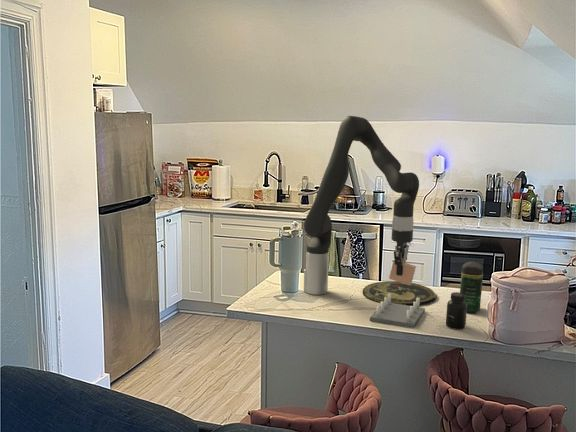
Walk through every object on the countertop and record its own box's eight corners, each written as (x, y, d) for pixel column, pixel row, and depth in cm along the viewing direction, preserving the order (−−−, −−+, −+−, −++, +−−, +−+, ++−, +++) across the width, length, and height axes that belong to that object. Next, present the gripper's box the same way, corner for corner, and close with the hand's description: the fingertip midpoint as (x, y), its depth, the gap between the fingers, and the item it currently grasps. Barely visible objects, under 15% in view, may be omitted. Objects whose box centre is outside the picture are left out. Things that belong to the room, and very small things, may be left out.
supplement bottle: (444, 328, 211) (446, 295, 209) (446, 322, 217) (448, 290, 215) (464, 331, 208) (467, 298, 206) (466, 324, 215) (468, 292, 213)
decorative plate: (376, 277, 267) (444, 287, 254) (376, 281, 268) (443, 291, 254) (351, 295, 241) (425, 307, 228) (351, 300, 242) (425, 312, 228)
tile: (388, 278, 220) (393, 260, 218) (390, 276, 222) (395, 259, 220) (409, 285, 217) (414, 267, 215) (411, 283, 219) (416, 266, 218)
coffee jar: (479, 315, 225) (482, 267, 222) (457, 312, 228) (460, 264, 225) (481, 307, 234) (484, 261, 231) (460, 304, 237) (463, 259, 233)
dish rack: (369, 320, 217) (370, 306, 216) (383, 305, 234) (384, 292, 233) (413, 328, 210) (414, 313, 209) (424, 311, 227) (425, 298, 226)
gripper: (397, 223, 224) (394, 268, 227) (387, 230, 211) (385, 277, 215) (417, 225, 221) (414, 271, 224) (408, 232, 208) (406, 280, 212)
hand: (400, 274), depth 219 cm, fingers closed on tile, 2 cm apart
